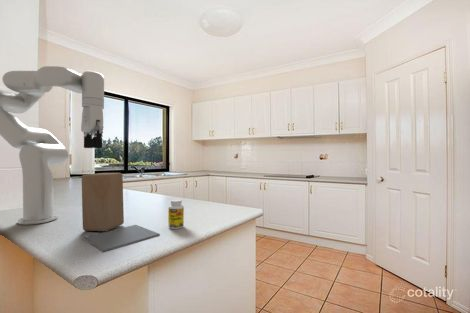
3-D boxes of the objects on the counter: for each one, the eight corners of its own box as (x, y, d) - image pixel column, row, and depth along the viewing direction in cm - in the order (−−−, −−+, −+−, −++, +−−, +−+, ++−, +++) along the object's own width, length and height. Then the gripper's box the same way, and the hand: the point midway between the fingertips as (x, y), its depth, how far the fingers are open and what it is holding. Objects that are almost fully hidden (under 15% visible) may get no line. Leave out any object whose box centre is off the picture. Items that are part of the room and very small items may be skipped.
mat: (82, 238, 77) (82, 237, 77) (135, 225, 91) (135, 224, 91) (103, 251, 67) (103, 250, 67) (159, 235, 81) (159, 233, 81)
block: (106, 232, 82) (104, 174, 82) (81, 231, 84) (80, 174, 84) (125, 224, 91) (123, 172, 92) (102, 223, 93) (101, 173, 94)
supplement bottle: (168, 230, 86) (168, 202, 86) (168, 225, 92) (168, 199, 91) (183, 229, 87) (183, 201, 87) (183, 224, 93) (183, 198, 93)
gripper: (74, 105, 97) (74, 147, 97) (91, 99, 86) (90, 147, 86) (94, 108, 102) (94, 148, 103) (112, 103, 91) (112, 148, 92)
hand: (92, 147), depth 94 cm, fingers open, 8 cm apart
